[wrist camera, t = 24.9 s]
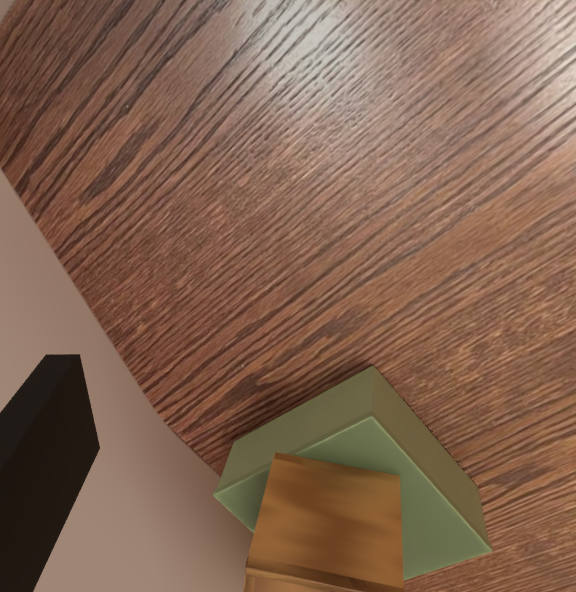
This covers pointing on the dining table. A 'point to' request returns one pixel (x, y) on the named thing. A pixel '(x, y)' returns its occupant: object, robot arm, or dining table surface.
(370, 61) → the dining table surface
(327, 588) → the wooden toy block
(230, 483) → the green box
